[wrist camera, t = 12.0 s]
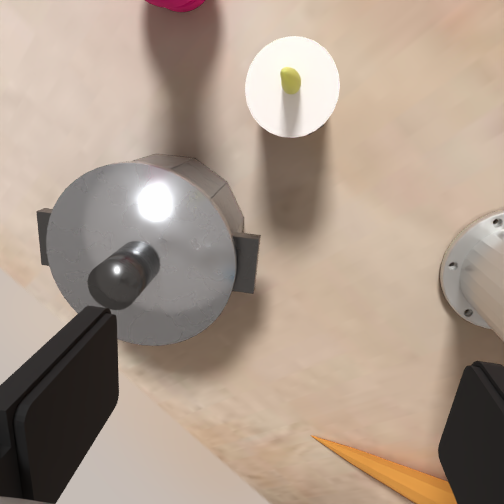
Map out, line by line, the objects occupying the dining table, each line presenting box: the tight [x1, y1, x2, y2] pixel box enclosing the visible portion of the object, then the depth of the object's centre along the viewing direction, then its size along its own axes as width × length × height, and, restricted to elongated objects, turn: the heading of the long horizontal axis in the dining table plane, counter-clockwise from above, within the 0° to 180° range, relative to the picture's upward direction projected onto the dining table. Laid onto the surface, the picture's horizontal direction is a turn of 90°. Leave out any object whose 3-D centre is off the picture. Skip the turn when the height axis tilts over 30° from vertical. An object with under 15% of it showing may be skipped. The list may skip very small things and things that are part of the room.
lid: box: [46, 162, 237, 346], centre depth 31 cm, size 16×16×8 cm
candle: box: [245, 36, 340, 138], centre depth 29 cm, size 6×6×15 cm
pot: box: [37, 154, 261, 294], centre depth 38 cm, size 19×15×9 cm
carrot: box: [310, 435, 457, 504], centre depth 48 cm, size 20×4×4 cm, turn 69°
